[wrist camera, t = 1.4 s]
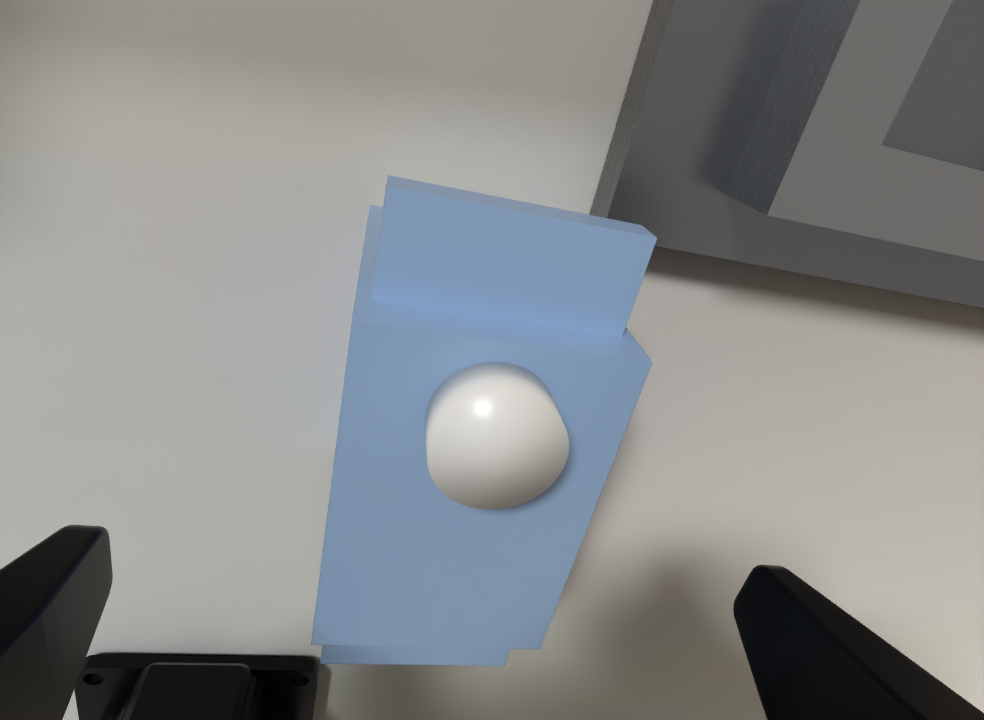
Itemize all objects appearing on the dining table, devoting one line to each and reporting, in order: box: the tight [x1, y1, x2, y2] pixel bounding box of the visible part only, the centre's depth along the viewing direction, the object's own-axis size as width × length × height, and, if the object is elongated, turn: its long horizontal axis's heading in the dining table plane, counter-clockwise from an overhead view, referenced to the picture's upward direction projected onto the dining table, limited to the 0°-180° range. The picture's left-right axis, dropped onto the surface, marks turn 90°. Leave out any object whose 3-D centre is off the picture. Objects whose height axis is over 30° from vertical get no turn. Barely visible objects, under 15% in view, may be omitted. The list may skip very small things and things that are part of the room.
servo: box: [311, 175, 657, 666], centre depth 11 cm, size 9×4×6 cm, turn 167°
